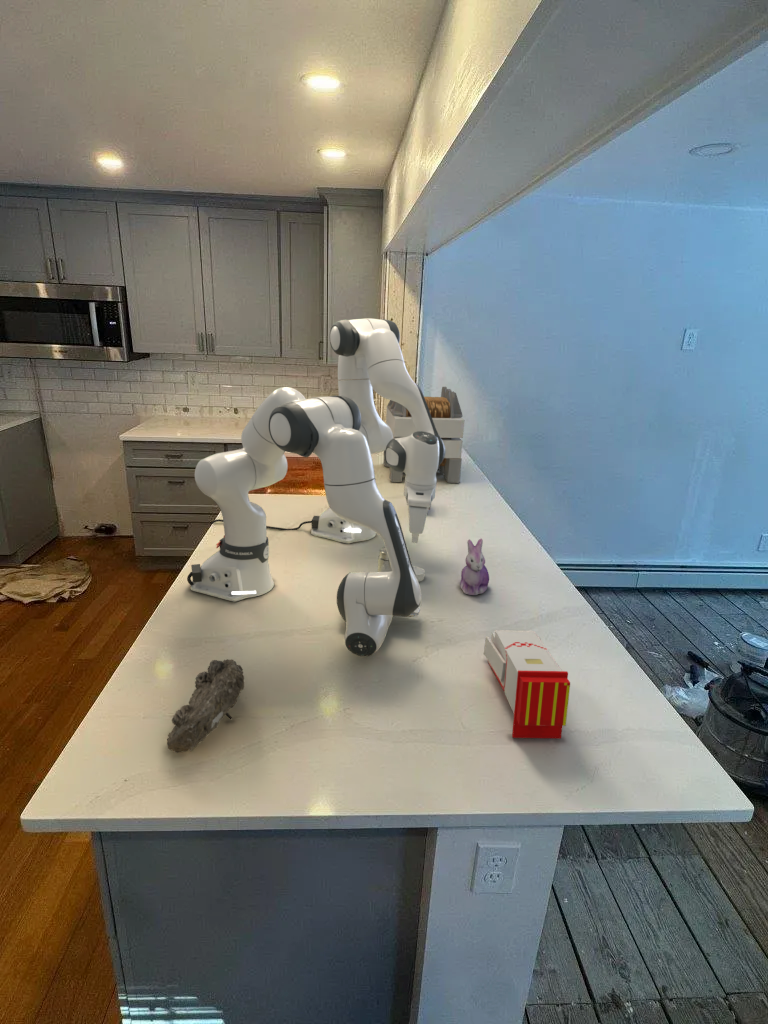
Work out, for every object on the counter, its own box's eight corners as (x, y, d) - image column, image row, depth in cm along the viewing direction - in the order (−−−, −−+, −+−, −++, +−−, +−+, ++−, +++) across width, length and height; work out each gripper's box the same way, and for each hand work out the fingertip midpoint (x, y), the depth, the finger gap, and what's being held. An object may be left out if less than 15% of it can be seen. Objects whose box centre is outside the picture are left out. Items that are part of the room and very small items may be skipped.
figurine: (471, 599, 156) (476, 549, 151) (450, 583, 165) (454, 536, 160) (498, 593, 160) (504, 544, 155) (476, 578, 169) (481, 531, 164)
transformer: (382, 463, 289) (386, 382, 275) (445, 464, 293) (451, 384, 279) (390, 482, 257) (394, 392, 243) (460, 483, 261) (468, 394, 247)
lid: (415, 571, 172) (415, 564, 171) (428, 578, 167) (428, 571, 167) (399, 576, 168) (400, 569, 168) (412, 584, 164) (413, 576, 163)
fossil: (192, 660, 117) (244, 628, 112) (224, 691, 120) (276, 661, 115) (142, 746, 98) (202, 712, 93) (182, 779, 101) (242, 748, 96)
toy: (532, 614, 131) (579, 678, 101) (527, 667, 134) (572, 745, 104) (479, 613, 130) (512, 677, 101) (476, 667, 133) (506, 744, 104)
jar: (392, 599, 154) (395, 545, 149) (396, 609, 150) (400, 553, 144) (374, 601, 153) (376, 546, 148) (378, 610, 149) (381, 554, 143)
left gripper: (419, 605, 135) (426, 579, 148) (336, 593, 139) (350, 569, 151) (417, 628, 137) (425, 601, 150) (335, 616, 141) (350, 590, 153)
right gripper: (409, 477, 169) (405, 520, 174) (407, 502, 150) (402, 549, 155) (430, 479, 169) (426, 522, 174) (430, 504, 150) (425, 551, 155)
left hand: (387, 585), depth 151 cm, fingers closed on jar, 5 cm apart
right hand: (415, 535), depth 164 cm, fingers open, 8 cm apart
